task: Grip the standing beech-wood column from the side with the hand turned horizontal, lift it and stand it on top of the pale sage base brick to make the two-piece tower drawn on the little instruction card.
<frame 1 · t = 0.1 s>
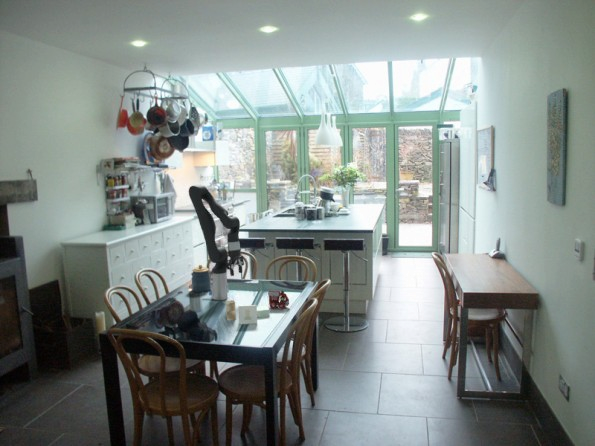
hand: (236, 274, 311), 17 cm above the table, tool pointing down, fingers open, 8 cm apart
instruction card: (248, 323, 271), on the table
column: (231, 318, 279), on the table
toy fire truck: (278, 307, 298), on the table
base brick: (261, 315, 285), on the table
canister: (201, 290, 341), on the table
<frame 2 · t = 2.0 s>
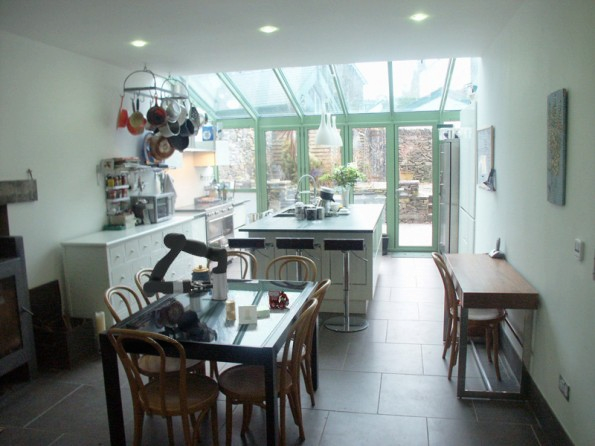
hand: (211, 284, 273), 21 cm above the table, tool horizontal, fingers open, 8 cm apart
nothing on the table moved.
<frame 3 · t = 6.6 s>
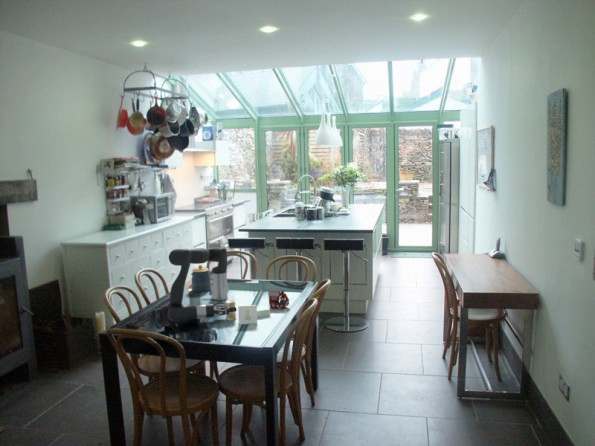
hand: (235, 308, 279), 6 cm above the table, tool horizontal, fingers closed on column, 4 cm apart
column: (231, 318, 279), on the table, touching gripper
everything else where it was.
when the fingers open (11 cm above the table, at t = 11.5 s): column drops 1 cm, resting on base brick.
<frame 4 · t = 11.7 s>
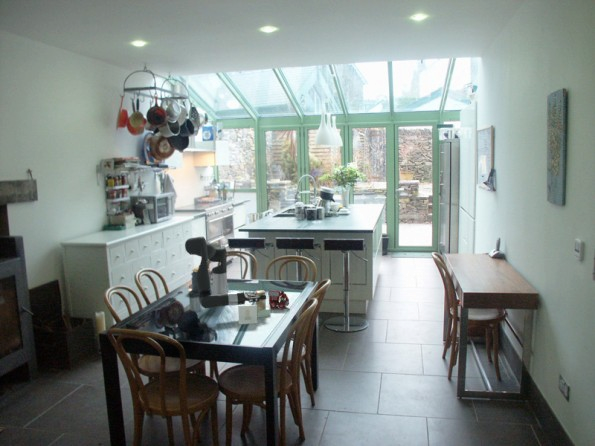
hand: (264, 295, 285), 11 cm above the table, tool horizontal, fingers open, 6 cm apart
column: (261, 308, 285), point 4 cm above the table, touching base brick
base brick: (261, 315, 286), on the table, touching column
everything else where it was.
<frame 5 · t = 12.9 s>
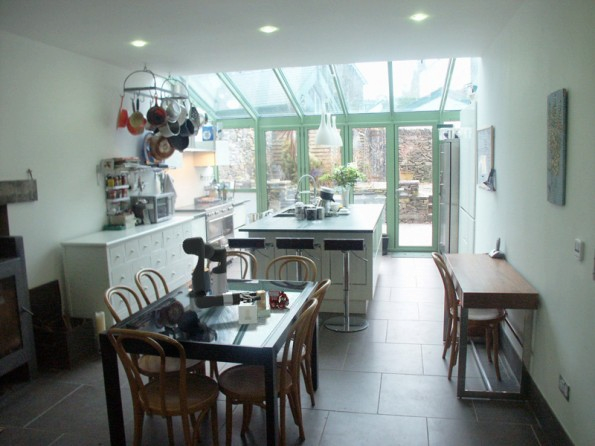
hand: (259, 296, 284), 11 cm above the table, tool horizontal, fingers open, 8 cm apart
nothing on the table moved.
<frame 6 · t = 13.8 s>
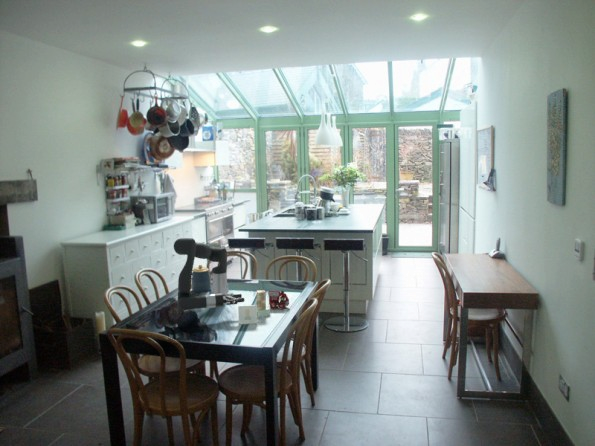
hand: (242, 297, 281), 11 cm above the table, tool horizontal, fingers open, 8 cm apart
nothing on the table moved.
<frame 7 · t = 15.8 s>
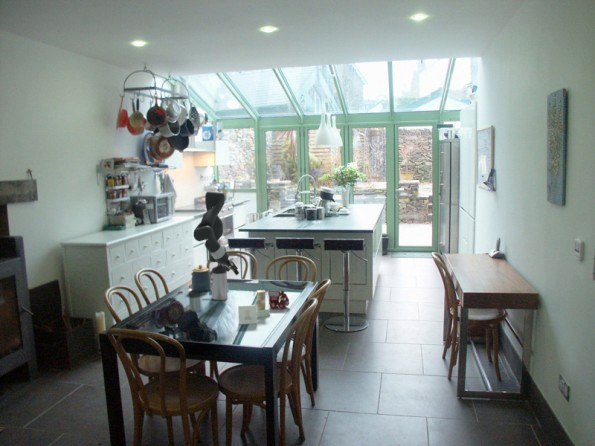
hand: (233, 272, 286), 24 cm above the table, tool tilted 40°, fingers open, 8 cm apart
nothing on the table moved.
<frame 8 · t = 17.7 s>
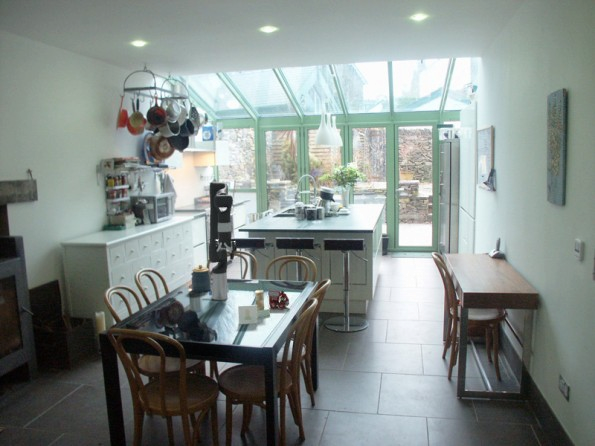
hand: (225, 258, 282), 33 cm above the table, tool pointing down, fingers open, 8 cm apart
at the end: column 0.0 cm off-centre on the base brick, point 4.1 cm above the base brick's base; column tilted 2°; the gripper is holding nothing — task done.
